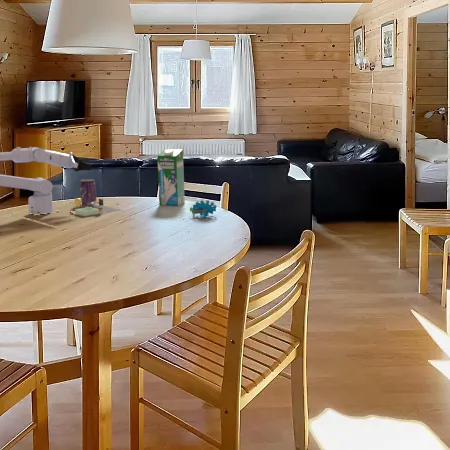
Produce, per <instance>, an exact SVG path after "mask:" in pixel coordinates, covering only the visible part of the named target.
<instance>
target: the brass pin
mask: <svg viewBox="0 0 450 450" xmlns="http://www.w3.org/2000/svg"><path fill="white" fill-rule="evenodd" d="M74 205H75V206H74V207H75V208H74V210H75V209H81V208H83V205H82V200H81V198H80V197H78V198H77V197H76V198H74Z"/></svg>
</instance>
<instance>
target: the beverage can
mask: <svg viewBox="0 0 450 450" xmlns="http://www.w3.org/2000/svg"><path fill="white" fill-rule="evenodd" d="M96 185H97V184H96V181H95V179H94V178H85V179H80V182H79V195H80V196H79V198H81V200H82V206H83V205H85V206H84V207H86V206H87V203H88V202H93V201H97V190H96Z"/></svg>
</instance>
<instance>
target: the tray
mask: <svg viewBox="0 0 450 450" xmlns="http://www.w3.org/2000/svg"><path fill="white" fill-rule="evenodd" d="M74 210H75V213H76V216H79V217H84V218H87V217H86V216H89V217H93V216H92V215H94V216H98V214H99V209H96V208H92V207H87V208H86V207H82V208H81V209H75V208H74Z"/></svg>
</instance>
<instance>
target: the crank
mask: <svg viewBox="0 0 450 450" xmlns="http://www.w3.org/2000/svg"><path fill="white" fill-rule="evenodd" d="M98 201H99V204H97V203H94V202H88V203H87V205H88V206H94V207H99V208H102V207H104V206H105V205H104V199H103V198H98Z"/></svg>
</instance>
